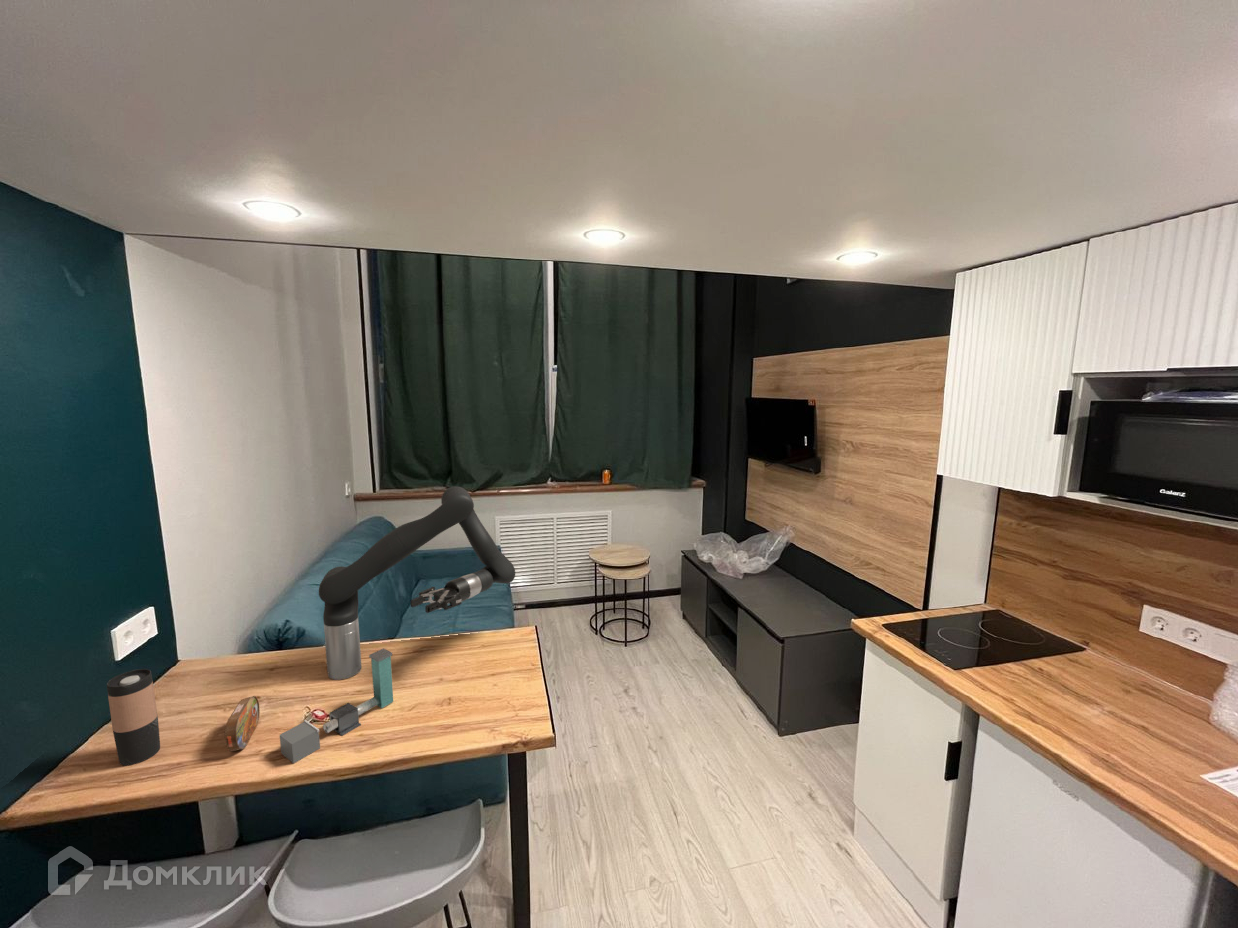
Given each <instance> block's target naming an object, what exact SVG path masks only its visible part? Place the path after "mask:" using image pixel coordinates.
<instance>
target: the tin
mask: <svg viewBox="0 0 1238 928" xmlns="http://www.w3.org/2000/svg"><path fill="white" fill-rule="evenodd" d="M259 722H260V702H259V700H258V697H257V696H255V695H253V696H250V697H245V698H241V699H240V701H239V702H238V703H237V705H236V707H235V708H234V710H233V711H232V713H231V714H230V716H229V718H228V719H227V722H226V724H225V729H224V739H225V744H226V749H227V750H228V751H230V752H235V751H238V750H244V749H245V748H246V747H247V745H248V744H249V742H250V740H251V738H252V736H253V734H254V733H255V731H256V729H257V727H258V724H259Z"/></svg>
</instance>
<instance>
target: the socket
mask: <svg viewBox="0 0 1238 928" xmlns="http://www.w3.org/2000/svg"><path fill="white" fill-rule="evenodd" d="M279 743H280V744H279V745H280V754H281V755H282V756H284V757H285V758H286V759H288V760H289V761H290V762H291V764H295V763H297V762H299V761H301V760H303V759H304V758H306V757H307V756H309V755H311V754H313V753H314V752H316V751H318V750H320V749H321V741H320V729H319V728H318V727H316V726H315V725H313V724H312V723H311V722H309V721H308V720H306V719H304V721H303V722H300V724H298V725H296V726H294V727H292V728H290V729H288V730H286V731H284V732H282V733H280V734H279Z"/></svg>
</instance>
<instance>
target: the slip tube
mask: <svg viewBox="0 0 1238 928" xmlns="http://www.w3.org/2000/svg"><path fill="white" fill-rule="evenodd" d="M392 656H393V652H392V651H390V650H388V649H386V648H381V649H378V650H377V651H375V652H373V653H370V654H368V658H369V659H370V660H371V674H372V675H371V676H372V691H373V697H371V698H369V699H367V700H366V701H364V702H362V703H360V704H359V705H357V706H355V707H356V708H358V717H360V715H362V714H364V713H366V712H367V711H369V710H372V709H373V708H375V707H378V708H381V709H383V708H384V707H387V706H388V705H390V704H392V703H393V702H394V694H393V693H394V690H393V677H392V676H393V675H392V672H393V671H392V659H391V658H392ZM337 727H338V720H337V719H335V718H334V719H332V720H331V721H330V720H329V721H327V722H325V723H323V725H322V729H323V730H324V731H323V732H324V733H326V734H329V733H330V732H332V731H334V729H336V728H337Z"/></svg>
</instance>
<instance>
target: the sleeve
mask: <svg viewBox="0 0 1238 928" xmlns="http://www.w3.org/2000/svg"><path fill="white" fill-rule="evenodd" d="M359 717H360V716H358V708H356V706H354V705H353V704H351V703H350V702H347V703H345V704H343V705H342V706H340V707H338V708H336V709H333V710H332V711H330V712H329V721H331V720H332V719H334V718H335V719H337V720H338V727H337V728H336V729H334V730H333V731H334V732H335V733H337V734H338V735H340V736H342V737H343V736H345V735H346V734H349V732H352V731H353V730H355V729H356V728H358V727H360V726H361V725H362V724H361V722H359V721H360V720H359Z"/></svg>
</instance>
